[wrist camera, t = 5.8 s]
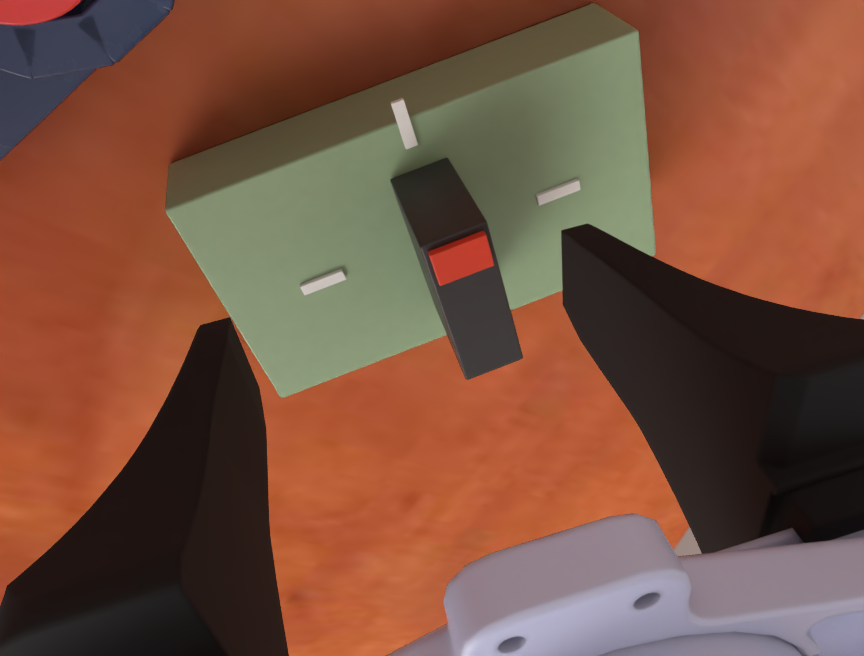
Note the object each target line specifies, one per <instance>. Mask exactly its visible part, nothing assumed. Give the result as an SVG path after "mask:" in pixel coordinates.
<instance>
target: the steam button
mask: <svg viewBox="0 0 864 656" xmlns="http://www.w3.org/2000/svg"><path fill="white" fill-rule="evenodd" d="M81 1H82V0H0V24H3V25H21V26H23V25H32V24H39V23H43V22H47V21H50V20H53V19H55V18H58V17H60V16H62V15H64V14H65V13H67V12H69V11H70V10H72V9H73V8H74V7H75V6H77V5H78V4H79V3H80V2H81Z"/></svg>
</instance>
